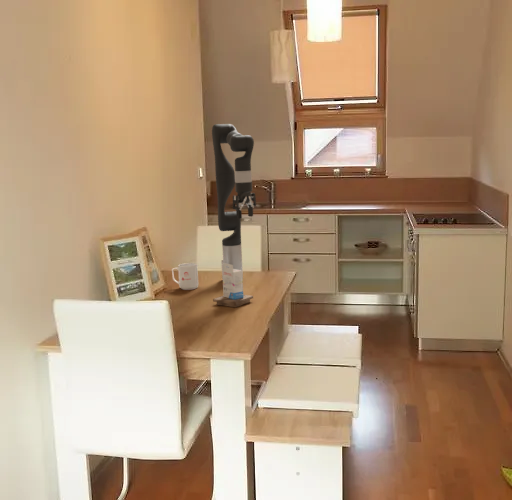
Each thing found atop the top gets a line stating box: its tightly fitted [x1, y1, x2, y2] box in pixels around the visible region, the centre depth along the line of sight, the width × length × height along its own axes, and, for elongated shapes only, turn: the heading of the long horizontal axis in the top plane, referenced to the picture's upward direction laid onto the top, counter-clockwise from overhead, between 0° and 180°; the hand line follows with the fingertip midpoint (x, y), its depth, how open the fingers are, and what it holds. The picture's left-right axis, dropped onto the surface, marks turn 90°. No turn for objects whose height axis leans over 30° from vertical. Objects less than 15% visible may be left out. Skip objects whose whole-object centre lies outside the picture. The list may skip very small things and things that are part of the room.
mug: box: [171, 262, 199, 291], centre depth 316 cm, size 12×9×11 cm
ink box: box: [221, 262, 244, 300], centre depth 283 cm, size 8×5×15 cm, turn 37°
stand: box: [212, 294, 254, 308], centre depth 284 cm, size 12×12×2 cm
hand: (245, 217), depth 302 cm, fingers open, 8 cm apart
